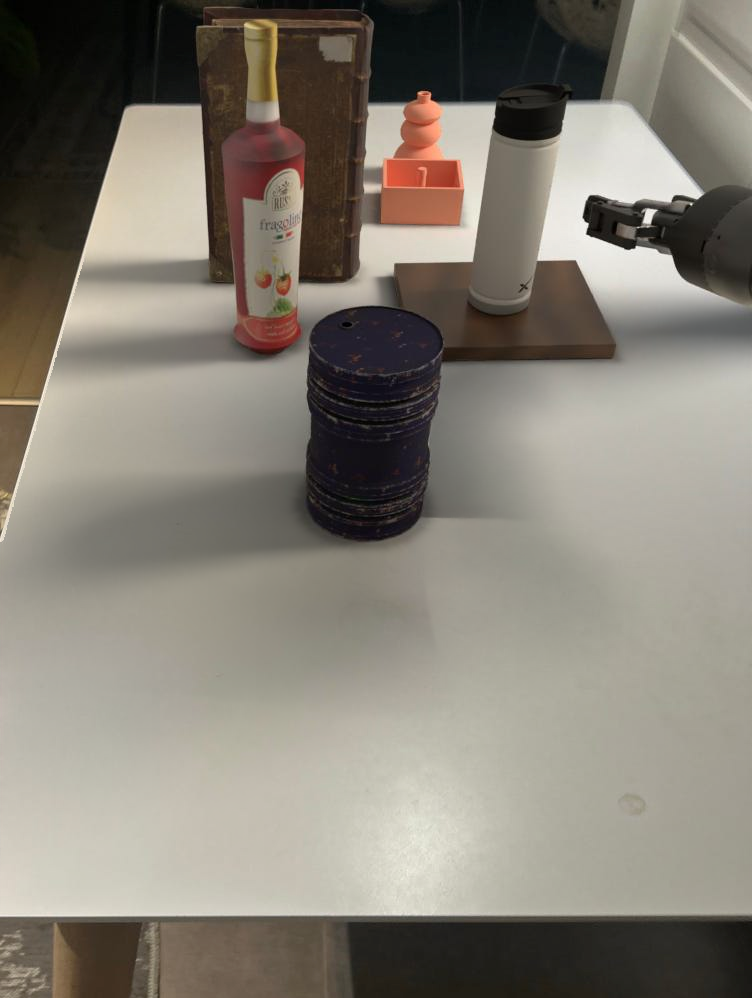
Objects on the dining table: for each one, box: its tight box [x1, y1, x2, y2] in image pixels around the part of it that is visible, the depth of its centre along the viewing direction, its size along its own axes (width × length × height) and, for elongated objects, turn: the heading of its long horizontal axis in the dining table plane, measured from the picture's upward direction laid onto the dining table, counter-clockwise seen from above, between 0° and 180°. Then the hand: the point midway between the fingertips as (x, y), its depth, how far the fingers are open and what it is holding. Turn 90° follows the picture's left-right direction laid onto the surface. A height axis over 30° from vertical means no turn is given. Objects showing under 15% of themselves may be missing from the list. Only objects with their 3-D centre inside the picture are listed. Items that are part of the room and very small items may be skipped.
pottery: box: [380, 90, 465, 226], centre depth 118 cm, size 18×10×10 cm, turn 175°
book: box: [195, 6, 375, 283], centre depth 98 cm, size 17×7×25 cm, turn 82°
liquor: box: [221, 20, 305, 355], centre depth 86 cm, size 7×7×28 cm
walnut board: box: [393, 259, 617, 362], centre depth 99 cm, size 20×18×2 cm
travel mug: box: [468, 82, 574, 315], centre depth 91 cm, size 6×7×20 cm
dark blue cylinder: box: [304, 305, 444, 543], centre depth 73 cm, size 10×10×15 cm
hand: (631, 207), depth 85 cm, fingers open, 8 cm apart
